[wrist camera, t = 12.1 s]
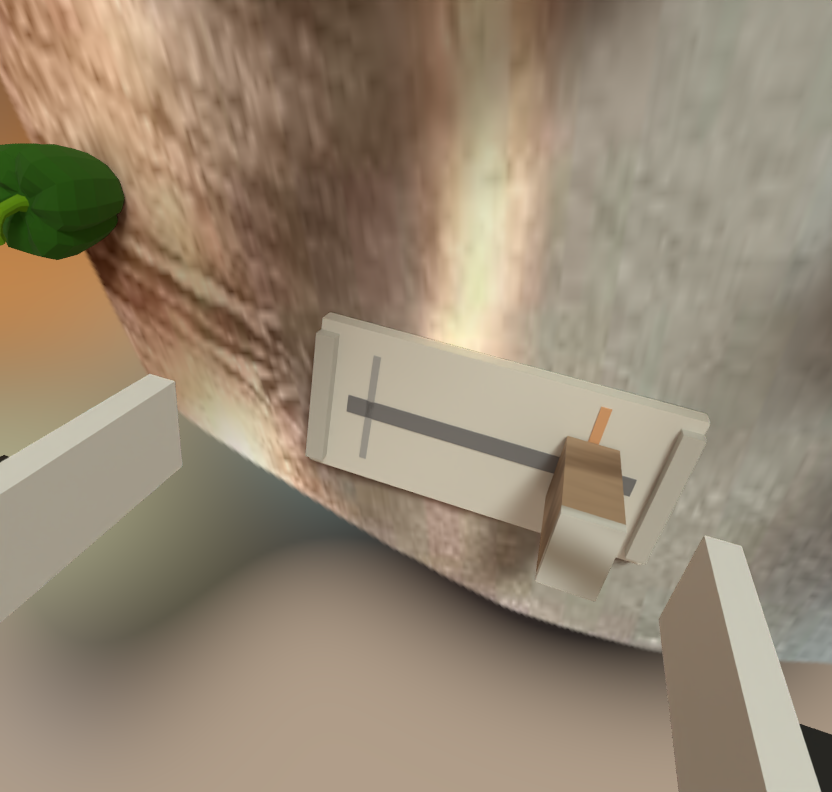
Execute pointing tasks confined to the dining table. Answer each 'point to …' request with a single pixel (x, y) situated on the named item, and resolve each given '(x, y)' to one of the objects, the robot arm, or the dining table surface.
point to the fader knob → (582, 519)
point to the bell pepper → (55, 199)
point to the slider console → (488, 428)
